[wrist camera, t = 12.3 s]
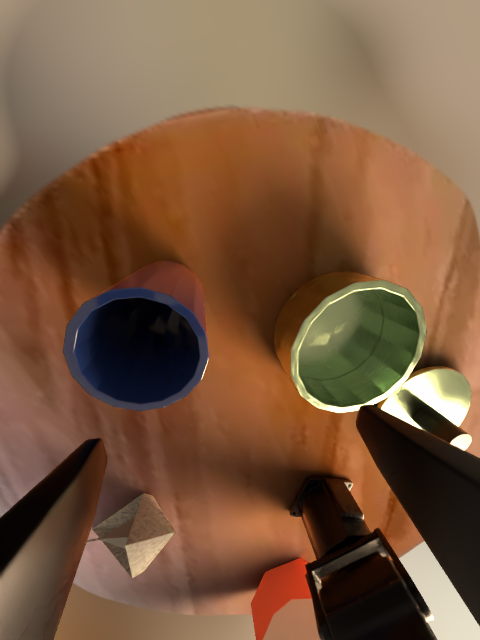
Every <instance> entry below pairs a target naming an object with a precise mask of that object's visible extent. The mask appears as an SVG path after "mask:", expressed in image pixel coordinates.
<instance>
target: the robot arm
mask: <svg viewBox="0 0 480 640" xmlns="http://www.w3.org/2000/svg"><path fill="white" fill-rule="evenodd" d="M356 426H357V429H358V431H359V433H360V435H361V437H362V439H363V441H364V442H365V444H366V446H367V448H368V450H369V452H370V454H371V456H372V458H373V459H374V461H375V463H376V465H377V467H378V469H379V470H380V472H381V474H382V475H383V477H384V478H385V480H386V481H387V483H388V485H389V486H390V488H391V489H392V491H393V492H394V494H395V495H396V497H397V499H398V500H399V502H400V503H401V505H402V506H403V508H404V509H405V511H406V513H407V514H408V516H409V517H410V519H411V520H412V522H413V523H414V525H415V527H416V528H417V530H418V531H419V533H420V534H421V536H422V537H423V539H424V541H425V542H426V544H427V545H428V547H429V548H430V550H431V551H432V553H433V554H434V556H435V558H436V559H437V561H438V562H439V564H440V565H441V567H442V568H443V570H444V572H445V573H446V575H447V576H448V578H449V579H450V581H451V582H452V584H453V585H454V587H455V589H456V590H457V592H458V593H459V595H460V596H461V598H462V599H463V601H464V602H465V604H466V606H467V607H468V609H469V610H470V612H471V613H472V615H473V616H474V618H475V620H476V621H477V623H478V624H479V626H480V458H478V457H476V456H474V455H472V454H470V453H468V452H466V451H464V450H462V449H460V448H458V447H456V446H454V445H452V444H450V443H448V442H446V441H444V440H442V439H440V438H438V437H436V436H434V435H432V434H430V433H428V432H426V431H424V430H422V429H420V428H418V427H416V426H414V425H412V424H410V423H408V422H406V421H404V420H402V419H400V418H398V417H396V416H394V415H392V414H390V413H388V412H386V411H384V410H382V409H380V408H378V407H376V406H374V405H372V404H366V405H361V406H360V407H359V411H358V415H357V420H356ZM106 466H107V454H106V450H105V447H104V443H103V440H102V439H101V438H95V439H88V440H86V441H85V442H84V443H83V444H81V445H80V446H79V447H78V448H77V449H76V450H75V451H74V452H73V453H71V454H70V455H69V456H68V457H67V458H66V459H65V460H64V461H63V462H62V463H60V464H59V465H58V466H57V467H56V468H55V469H54V470H53V471H52V472H50V473H49V474H48V475H47V476H46V477H45V478H44V479H43V480H42V481H41V482H39V483H38V484H37V485H36V486H35V487H34V488H33V489H32V490H31V491H29V492H28V493H27V494H26V495H25V496H24V497H23V498H22V499H21V500H19V501H18V502H17V503H16V504H15V505H14V506H13V507H12V508H11V509H10V510H8V511H7V512H6V513H5V514H4V515H3V516H2V517H1V518H0V640H53V639H54V636H55V633H56V631H57V627H58V624H59V622H60V619H61V616H62V613H63V610H64V607H65V604H66V601H67V598H68V595H69V592H70V589H71V586H72V583H73V580H74V577H75V574H76V571H77V568H78V565H79V562H80V559H81V556H82V554H83V551H84V548H85V545H86V542H87V539H88V536H89V533H90V530H91V527H92V523H93V520H94V516H95V513H96V509H97V504H98V500H99V496H100V492H101V487H102V483H103V479H104V475H105V470H106ZM352 486H353V484H352V482H351V481H350V480H345V479H336V478H327V477H317V476H309V477H308V478H307V479H306V481H305V483H304V484H303V486H302V488H301V490H300V492H299V493H298V495H297V497H296V499H295V501H294V503H293V504H292V506H291V508H290V510H289V512H290V515H291V516H295V517H302V520H303V523H304V525H305V528H306V531H307V534H308V537H309V539H310V542H311V545H312V548H313V550H314V553H315V556H316V559H317V560H316V561H314V562H312V563H310V562H309V563H307V564H305V567H306V571H307V573H306V574H305V577H306V580H307V583H308V586H309V590H310V593H311V597H312V602H313V607H314V613H315V619H316V625H317V630H318V634H319V637H320V639H321V640H437V638H436V636H435V635H434V633H433V631H432V629H431V628H430V626H429V624H428V622H429V621H431V620H433V619H434V618H433V616H432V614H431V612H430V610H429V608H428V606H427V605H426V603H425V601H424V599H423V597H422V596H421V594H420V592H419V591H418V589H417V588H416V586H415V584H414V582H413V581H412V579H411V577H410V576H409V574H408V573H407V571H406V570H405V568H404V566H403V565H402V563H401V562H400V560H399V559H398V557H397V555H396V554H395V552H394V551H393V549H392V548H391V546H390V545H389V543H388V541H387V540H386V538H385V537H384V535H383V534H382V532H381V531H380V529H379V528H376V529H374V531H373V532H370V530H369V528H368V527H367V525H366V523H365V521H364V520H363V518H364V516H363V513H362V512H361V510H360V508H359V507H358V505H357V503H356V501H355V500H354V498H353V496H352V495H351V493H350V489H351V488H352Z"/></svg>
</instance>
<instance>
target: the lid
mask: <svg viewBox="0 0 480 640" xmlns="http://www.w3.org/2000/svg"><path fill="white" fill-rule="evenodd" d="M470 403H471V386H470V384H469V382H468V380H467V379H466V377H465V376H463V375H462V374H461V373H459V372H458V371H456V370H454V369H451V368H448V367H443V366H434V367H428V368H423V369H420V370H417V371H415V372H413V373H411V374H410V375H409V377H408V379H407V380H406V381H405V382H403V383H402V384H401V385H400V386H399V387H398V388H397V389H396V390H395V391H394V392H393V393H391V394H390V395H389V396H388V397H387V398H385V399H383V400H381V401H380V402H379V403H378V405H377V407H378V408H380V409H382V410H384V411H386V412H388V413H390V414H392V415H394V416H396V417H398V418H400V419H402V420H404V421H406V422H408V423H410V424H412V425H414V426H416V427H418V428H420V429H422V430H424V431H426V432H428V433H430V434H432V435H434V436H436V437H438V438H440V439H442V440H444V441H446V442H448V443H450V444H452V445H454V446H456V447H458V448H460V449H462V450H465V449H466V448H467V447H468V446H469V445H470V443H471V440H472V438H471V436H470V435H469V434H468V433H467V432H465V431H464V430H462V429H461V428H460V427H458V426H459V425H460V423H461V422H462V420H463V419H464V417H465V415H466V414H467V411H468V409H469V406H470Z"/></svg>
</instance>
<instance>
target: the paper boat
mask: <svg viewBox="0 0 480 640" xmlns="http://www.w3.org/2000/svg"><path fill="white" fill-rule="evenodd" d="M93 530H94V531H95V533H96V534H97V535H98V536H99V538H97V539H91V540H87V542H90V541H96V540H102V541H103V543H104V544H105V545H106V546H107V548H108V549H109V550H110V551H111V552H112V554H113V555H114V556H115V557H116V559H117V560H118V561H119V562H120V564H121V565H122V566H123V567H124V569H125V570H126V571H127V572H128V574H129V575H130V576H131V577H132V578H134V577H135V576H137V575H138V574H140V573H141V572H143V571H144V570H145V569H146V568H147V567H148V565H149V564H150V563H151V562H152V560H153V559H154V558H155V557H156V555H157V554H158V553H159V552H160V551H161V549H162V548H163V547H164V546H165V544H166V543H167V542H168V541H169V539H170V538H171V537H172V536H173V534H174V533H175V530H174V528H173V527H172V525H171V524H170V522H169V521H168V519H167V517H166V516H165V514H164V513H163V511H162V509H161V508H160V506H159V505H158V503H157V501H156V500H155V498H154V497H153V496H152V495H149V494H146V493H143V494H142V495H140V496H139V497H137V498H136V499H135V500H133V501H132V502H130V503H129V504H127V505H126V506H125V507H123V508H122V509H120V510H119V511H117V512H116V513H115V514H113V515H112V516H110V517H109V518H107V519H106V520H105V521H103V522H102V523H100V524H99V525H97V526H96V527H94V528H93Z"/></svg>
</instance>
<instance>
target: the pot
mask: <svg viewBox="0 0 480 640" xmlns="http://www.w3.org/2000/svg"><path fill="white" fill-rule="evenodd" d="M426 333H427V329H426V324H425V318H424V312H423V308H422V306H421V305H420V304H419V303H418V301H417V300H416V299H415V298H414V296H413V295H412V294H411V293H410V291H409V290H408V289H406V288H404V287H401V286H399V285H396V284H393V283H391V282H388V281H386V280H382V279H378V278H374V277H370V276H366V275H362V274H358V273H354V272H331V273H326V274H323V275H320V276H317V277H315V278H313V279H311V280H309V281H308V282H306V283H304V284H303V285H302V286H300V287H299V288H298V289H297V290H296V291H295V292H294V293H293V294H292V295H291V296H290V297H289V298H288V300H287V301H286V302H285V304H284V305H283V307H282V309H281V311H280V313H279V315H278V317H277V320H276V323H275V329H274V347H275V351H276V354H277V357H278V359H279V361H280V363H281V365H282V367H283V369H284V371H285V372H286V374H287V375H288V377H289V378H290V380H291V382H292V383H293V385H294V386H295V388H296V390H297V391H298V393H299V394H300V396H301V397H303V398H304V399H305V400H307V401H308V402H309V403H311V404H312V405H314V406H315V407H316V408H318V409H322V410H327V411H333V412H338V413H343V412H349V411H355V410H359V407H360V406H361V405H366V404H372V405H373V404H375V403H377V402H379V401H381V400H383V399H385V398H387V397H388V396H389V395H390V394H391V393H393V392H394V391H395V390H396V389H397V388H398V387H399V386H400V385H401V384H402V383H403V382H405V381H406V380H407V379H408V377H409V375H410V374H411V372H412V370H413V369H414V367H415V366H416V364H417V362H418V361H419V359H420V357H421V354H422V350H423V346H424V341H425V337H426Z"/></svg>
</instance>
